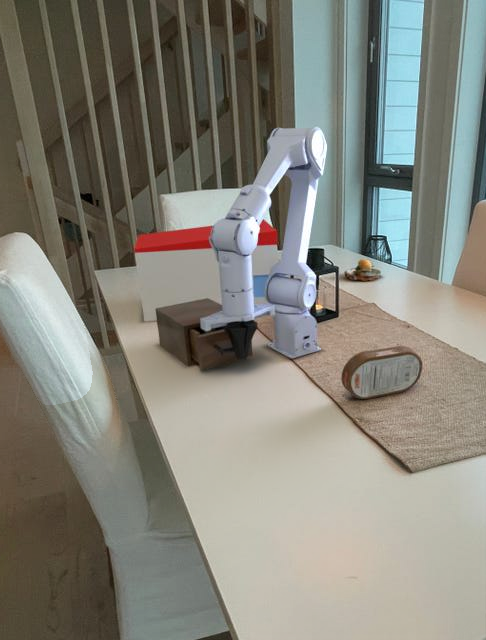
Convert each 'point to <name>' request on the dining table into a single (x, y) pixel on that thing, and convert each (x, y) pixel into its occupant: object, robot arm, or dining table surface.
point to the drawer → (211, 347)
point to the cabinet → (182, 325)
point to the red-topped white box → (193, 267)
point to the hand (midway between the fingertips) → (241, 357)
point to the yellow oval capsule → (209, 331)
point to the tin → (381, 372)
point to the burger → (363, 271)
